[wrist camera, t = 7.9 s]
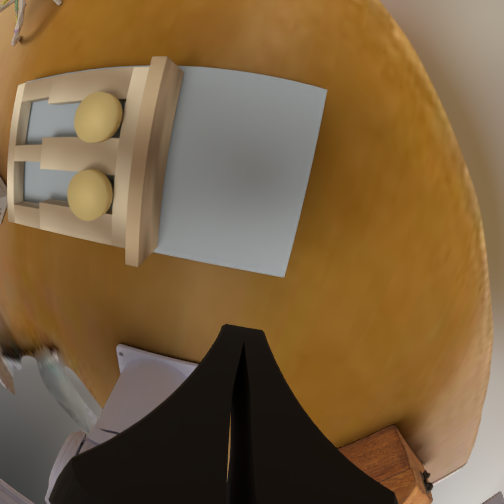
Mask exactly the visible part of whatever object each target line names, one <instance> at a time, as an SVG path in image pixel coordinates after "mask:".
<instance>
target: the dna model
mask: <svg viewBox="0 0 504 504" xmlns="http://www.w3.org/2000/svg"><path fill="white" fill-rule="evenodd" d="M7 1H8V0H5V1H4V2H3V3H2V4H1V5H0V12H1V11H3V10H4V9H5V8H7V7H8V6H9V5H11V4H12V3H14V2H15V11H16V26H15V30H14V32H15V34H14V37H13V40H12V42H11V45H12V46H15V45H16V44H17V42H18V41H19V40H20V38H21V37H20V36H19V37H18V35H19V32H20V29H21V26H22V23H23V18H24V10H25V6H26V5H27V4H26V3H25V0H19V1H20V2H19V13H18V0H11V1H9V2H8V3H6V2H7ZM53 1H54V2H55V3H56V4H57V5H61V3H62V1H61V0H53ZM5 3H6V4H5ZM4 4H5V5H4Z"/></svg>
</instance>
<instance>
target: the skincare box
mask: <svg viewBox="0 0 504 504" xmlns="http://www.w3.org/2000/svg"><path fill="white" fill-rule="evenodd" d="M6 208H7V187H6V186H5V184H4V182H3V180H2V179H1V177H0V225H1V222H2V219H3V217H4V214H5V211H6Z"/></svg>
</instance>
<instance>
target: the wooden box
mask: <svg viewBox="0 0 504 504" xmlns="http://www.w3.org/2000/svg"><path fill="white" fill-rule="evenodd" d="M338 450H339V451H340V452H341V453H342V454H343V455H344V456H345V457H346V458H347V459H348V460H350V461H351V462H352V463H353V464H354V465H356V466H357V467H358V468H359V469H361V470H362V471H363V472H364V473H366V474H367V475H368V476H370V477H371V478H373V479H374V480H376V481H377V482H379V483H380V484H382V485H383V486H385V487H387V488H388V489H390V490H391V491H393V492H395V495H396V498H397V501H398V504H431V503H432V501H433V499H432V495H431V490H432V488H433V485H432V483H430V482H429V481H428V478H429V477H430V473H427V471H426V470H425V469H424V467H423V465H422V463H421V462H420V461H419V459H418V458H417V457H416V455H415V454H414V452H413V451H412V450H411V448H410V447H409V446H408V444H407V443H406V441H405V440H404V438H403V436H402V435H401V434H400V432H399V430H398V429H397V427H396V426H395V425H390V426H388V427H386V428H384V429H382V430H380V431H378V432H376V433H374V434H372V435H369V436H367V437H365V438H363V439H360V440H358V441H356V442H354V443H352V444H349V445H347V446H344V447H341V448H339V449H338Z"/></svg>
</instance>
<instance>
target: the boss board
mask: <svg viewBox="0 0 504 504" xmlns="http://www.w3.org/2000/svg"><path fill="white" fill-rule="evenodd" d="M128 67H150V65H148V66H123V67H110V68H99V69H91V70H83V71H76V72H70V73H64V74H59V75H54V76H60V75H65V74H71V73H77V72H85V71H92V70H102V69H113V68H128ZM178 67H179V68H180V69H181V70H182V71H183V72H184V75H183V80H182V84H181V88H180V93H179V97H178V102H177V107H176V112H175V117H174V122H173V127H172V133H171V138H170V144H169V151H168V157H167V164H166V171H165V178H164V186H163V194H162V203H161V212H160V223H159V234H158V247H157V248H156V249H155V250H154V251H153V252H155V253H160V254H165V255H170V256H175V257H180V258H185V259H190V260H195V261H200V262H205V263H210V264H215V265H220V266H225V267H230V268H236V269H241V270H246V271H252V272H257V273H262V274H268V275H273V276H279V277H284V276H285V272H286V269H287V265H288V261H289V257H290V253H291V249H292V246H293V242H294V238H295V234H296V230H297V226H298V222H299V218H300V213H301V209H302V205H303V201H304V197H305V192H306V188H307V184H308V179H309V175H310V171H311V166H312V162H313V157H314V152H315V148H316V143H317V138H318V134H319V129H320V124H321V119H322V114H323V109H324V104H325V99H326V93H327V89H323V88H319V87H316V86H312V85H308V84H304V83H300V82H296V81H291V80H287V79H282V78H277V77H272V76H267V75H261V74H256V73H249V72H243V71H235V70H227V69H218V68H207V67H194V66H178ZM54 76H49V77H54ZM49 77H45V78H49ZM45 78H40V79H45ZM40 79H36V80H40ZM36 80H32V81H36ZM32 81H28V82H32ZM28 82H25V83H28ZM125 103H126V101H119V100H118V98H117V97H116V96H114V95H112V94H109V93H105V92H94V93H92V94H90V95H88V96H87V97H86V98H84V99H83V101H82V102H81V103H73V104H62V105H55V104H48V100H44V101H37V102H31V108H30V114H29V120H28V127H27V135H26V144H42V139H43V138H45V137H79V138H80V139H81V140H83V141H85V142H88V143H98V142H104V141H106V140H108V139H109V138H120V131H121V125H122V119H123V114H124V109H125ZM114 180H115V175H106V174H104V173H103V172H101V171H100V170H97V169H89V170H84V171H80V172H76V171H63V170H50V169H40V162H31V161H24V177H23V201H26V202H32V203H38V204H39V202H42V201H45V200H47V199H54V200H60V201H67V202H68V203H69V206H70V208H71V210H72V212H73V213H74V214H75V216H77V217H78V218H79V219H81V220H84V221H92V220H94V219H96V218H98V217H100V216H102V215H104V214H105V213H106V212H107V211H108V209H109V208H110V209H113V193H114Z"/></svg>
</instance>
